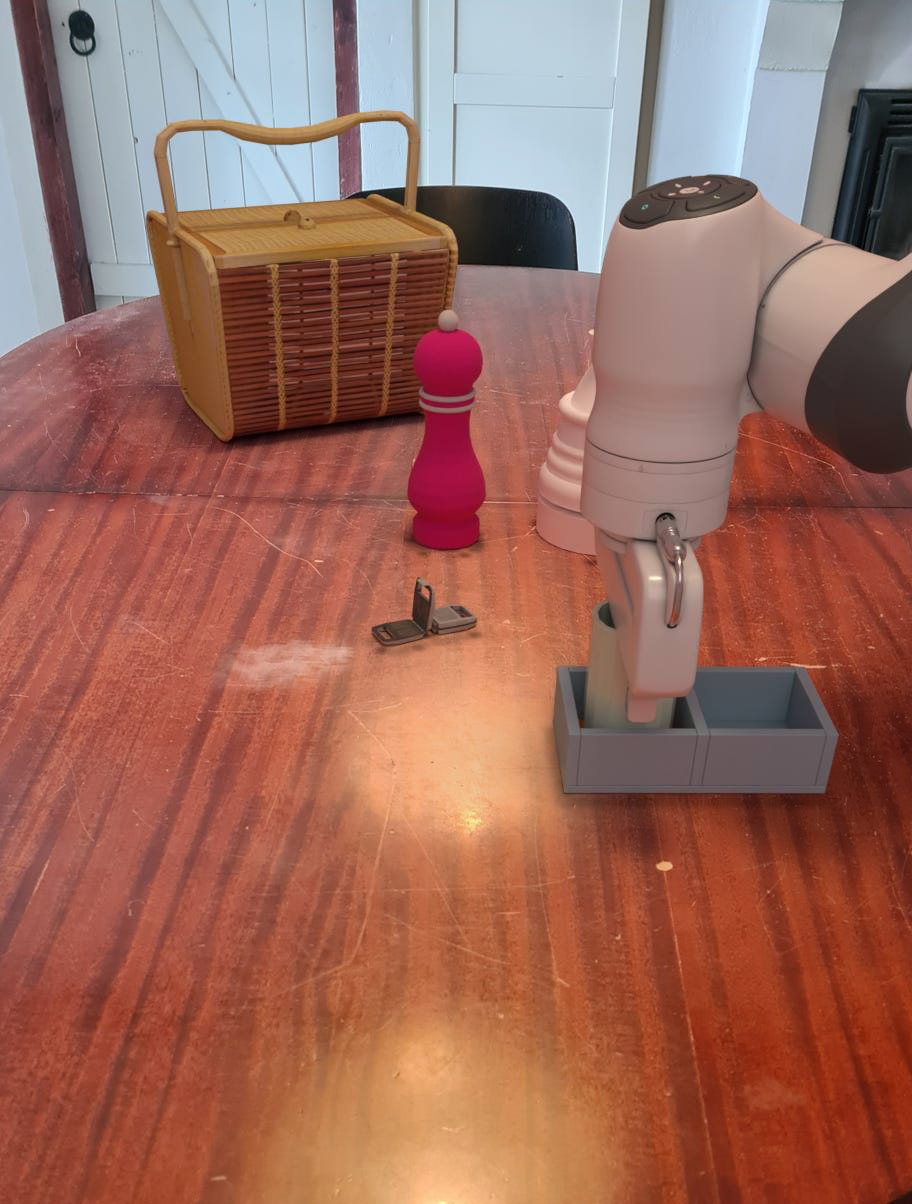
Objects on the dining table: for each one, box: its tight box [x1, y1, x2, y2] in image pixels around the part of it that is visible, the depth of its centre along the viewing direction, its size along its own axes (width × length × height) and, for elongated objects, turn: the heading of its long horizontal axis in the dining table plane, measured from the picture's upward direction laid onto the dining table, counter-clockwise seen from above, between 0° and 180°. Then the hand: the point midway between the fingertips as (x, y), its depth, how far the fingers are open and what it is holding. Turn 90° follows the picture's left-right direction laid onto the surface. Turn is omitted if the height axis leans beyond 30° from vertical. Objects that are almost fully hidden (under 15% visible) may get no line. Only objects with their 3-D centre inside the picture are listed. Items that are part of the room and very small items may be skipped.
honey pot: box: [535, 328, 596, 557], centre depth 112 cm, size 13×13×18 cm
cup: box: [582, 597, 676, 729], centre depth 82 cm, size 6×6×9 cm
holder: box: [552, 665, 840, 794], centre depth 84 cm, size 17×9×5 cm, turn 90°
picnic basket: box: [145, 109, 459, 443], centre depth 136 cm, size 29×26×30 cm
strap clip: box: [371, 576, 478, 645], centre depth 99 cm, size 8×3×4 cm, turn 115°
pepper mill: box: [406, 309, 487, 550], centre depth 110 cm, size 7×7×20 cm
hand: (631, 688), depth 82 cm, fingers closed on cup, 6 cm apart
